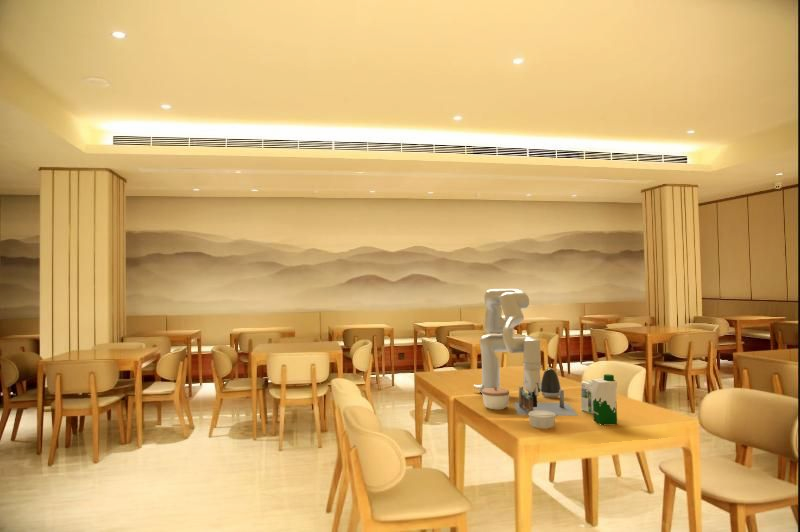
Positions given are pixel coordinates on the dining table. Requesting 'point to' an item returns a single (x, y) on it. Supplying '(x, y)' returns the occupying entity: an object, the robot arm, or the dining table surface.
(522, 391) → the gate leaf
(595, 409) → the milk carton
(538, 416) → the ramekin
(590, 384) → the syrup box
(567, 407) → the gate base
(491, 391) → the lidded bowl
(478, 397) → the dining table surface
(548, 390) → the dark grey rounded block
